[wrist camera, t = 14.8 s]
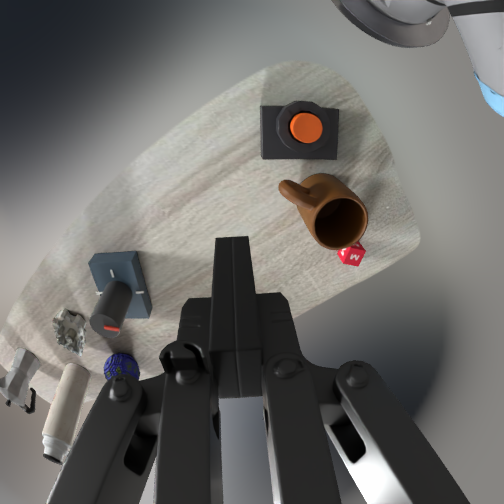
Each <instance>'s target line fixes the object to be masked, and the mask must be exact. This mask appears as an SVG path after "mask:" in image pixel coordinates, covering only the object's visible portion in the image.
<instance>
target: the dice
mask: <svg viewBox="0 0 504 504" xmlns="http://www.w3.org/2000/svg"><path fill="white" fill-rule="evenodd" d="M365 252H366V250H365V249H364V248H363V247H362V245H361V244H360V243H359V242H358V241H357V242H356V243H355V244H353V245H352V246H350V247H348V248H345V249H341V250H339V251H338V253H337V254H338V256H339V257H340V259H341V261H342V262H343V264H348V265H353V266H359V264H360V262H361V260H362V258H363V256H364V254H365Z"/></svg>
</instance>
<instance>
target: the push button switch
mask: <svg viewBox="0 0 504 504" xmlns="http://www.w3.org/2000/svg"><path fill="white" fill-rule="evenodd" d="M299 113H309V114H313V115H315V116H316V117H318V118H319V120H320V121H321V123H322V128H323V129H322V134H321V136H320V137H319V138H318V139H317V140H316V141H314V142H312V143H304V142H301V141H300V140H298V139H297V138H295V137H294V136H293V135H292V133H291V130H290V123H291V120H292V119H293V117H294V116H296V115H297V114H299ZM338 123H339V109H334V108H321V107H320V106H318V105H317V104H315V103H313V102H308V101H294V102H292V103H290V104H288V105H286V106H260V129H261V157H262V159H263V160H264V159H327V160H337V145H338Z"/></svg>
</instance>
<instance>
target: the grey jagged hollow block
mask: <svg viewBox="0 0 504 504" xmlns="http://www.w3.org/2000/svg"><path fill="white" fill-rule="evenodd" d="M53 326H54V330H55V335H56V338H57V339H58V340H57V343H58V344H59V345H60V344H62V345H63V346H64V348H67V349H68V350H70V351H72V352H73V353H74V352H75V353H76V354H78V355H79V356H80V357H81V355H82V352H83V348H84V345H85V343H86V340H84V337H85V335H86V331H85V330H84V328H85V326H86V322H85V321H84V320H83V319H82V317H81V316H80V315H78V314H77V316H72V315H71V314H69V312H68V310H66V309H64V310H62V311H59V313H58V314H57V316H56V318H54V320H53Z"/></svg>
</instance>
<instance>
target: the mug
mask: <svg viewBox="0 0 504 504" xmlns="http://www.w3.org/2000/svg"><path fill="white" fill-rule="evenodd" d="M279 191H280V193H281V194H282V195H283V196H284V197H285V198H286V199H288V200H289V201H291V202H292V203H294V204H296V205H297V208H298V211H299V213H300V215H301V216H302V218H303V220H304V222H305V224H306V226H307V228H308V230H309V231H310V233H311V235H312V236H313V237H314V238H315V240H316V241H317V242H318V243H319V244H320V245H321V246H323V247H325V248H327V249H331V250H341V249H345V248H348V247H350V246H352V245H353V244H355V243H356V242H357V241H358V240H359V239H360V238H361V237H362V236H363V234H364V232H365V230H366V228H367V224H368V212H367V209H366V207H365V205H364V204H363V202H362V201H361V200H360V199H359V197H358V196H357V195H356V194H355V193H354V192H352V191H351V190H350V189H349V188H348V187H347V186H346V185H344V184H343V183H342V182H341V181H340V180H338V179H337V178H336V177H334V176H332V175H329V174H324V173H319V174H314V175H312V176H310V177H308V178H306V179H305V180H304V181H303V182H302V183H301V185H299V184H297V183H295V182H293V181H291V180H283V181H281V182H280V183H279Z"/></svg>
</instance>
